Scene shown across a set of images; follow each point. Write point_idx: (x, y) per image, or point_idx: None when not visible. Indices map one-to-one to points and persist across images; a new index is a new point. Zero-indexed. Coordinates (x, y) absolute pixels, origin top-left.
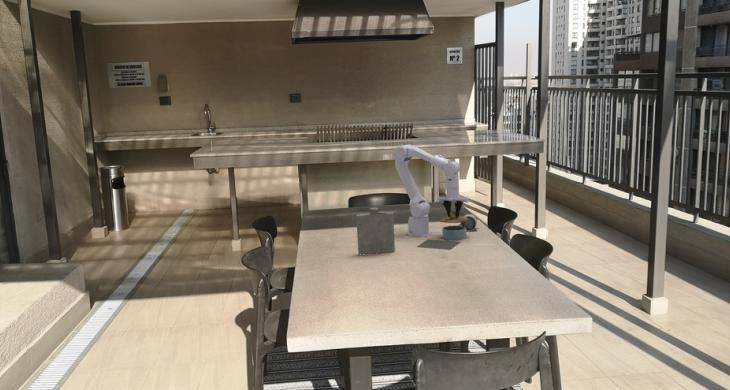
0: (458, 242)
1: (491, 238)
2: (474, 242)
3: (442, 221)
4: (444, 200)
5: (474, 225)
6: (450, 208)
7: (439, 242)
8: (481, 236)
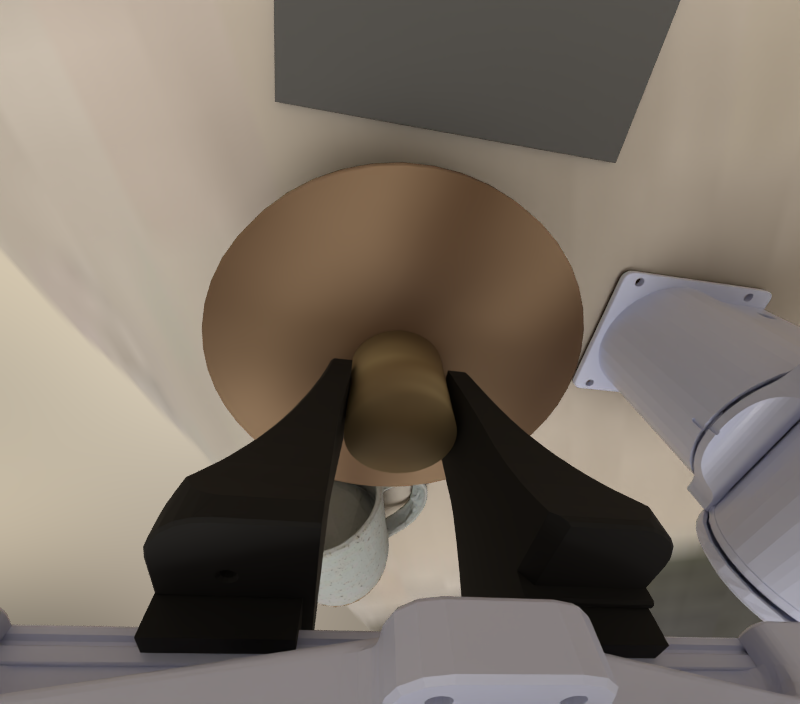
0: (291, 60)
1: (79, 301)
2: (150, 132)
3: (532, 217)
4: (645, 660)
5: None
6: (458, 508)
7: (496, 28)
8: (189, 349)
